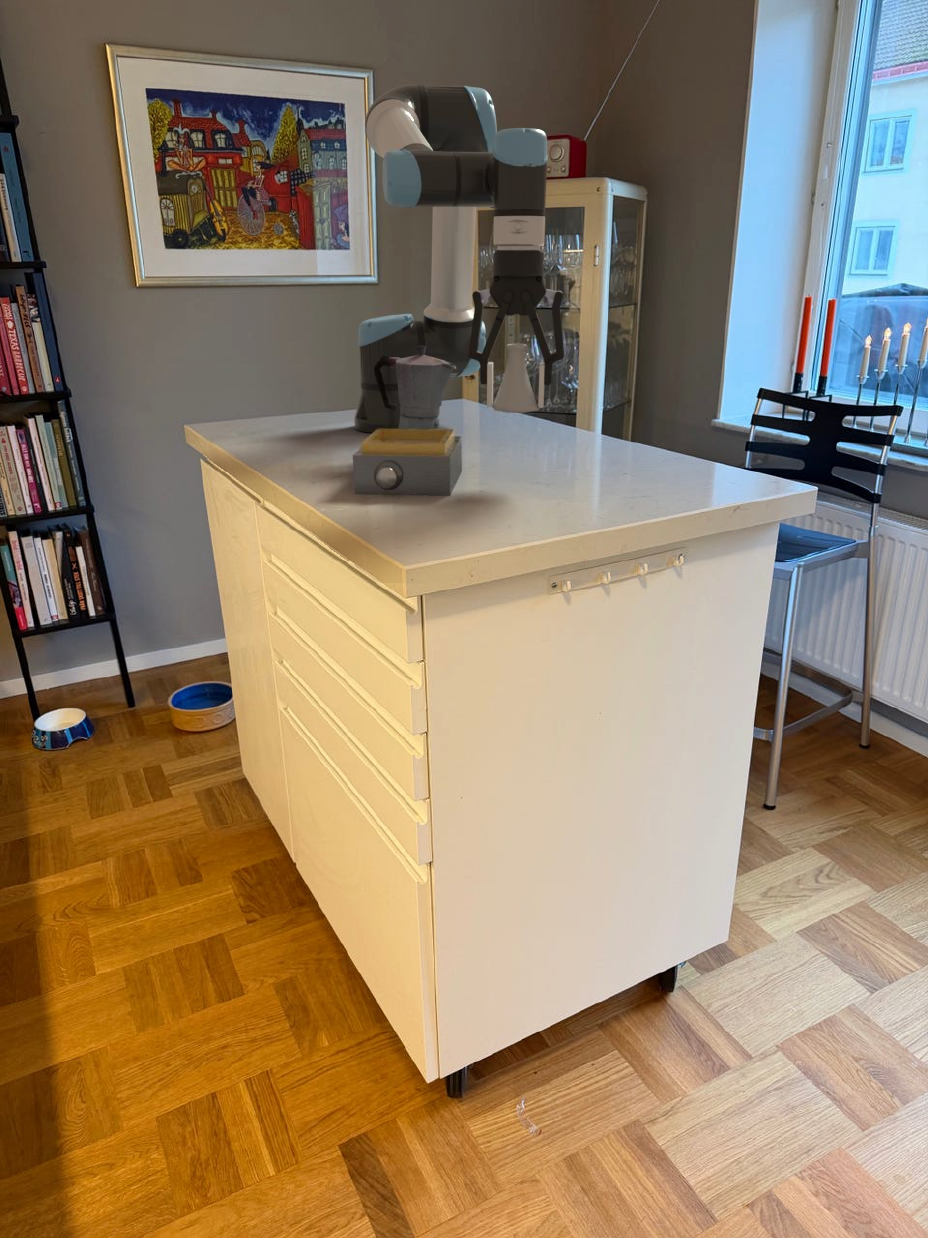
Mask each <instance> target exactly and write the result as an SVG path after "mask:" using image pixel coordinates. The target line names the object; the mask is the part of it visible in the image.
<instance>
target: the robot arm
mask: <svg viewBox="0 0 928 1238" xmlns="http://www.w3.org/2000/svg"><path fill="white" fill-rule="evenodd" d="M366 113H367V114H366V115H365V122H364V127H365V128H364V132H365V135H366V138H367V141H368V144H369V146H370V147H371V149H372V150H373V151H374V153H376V154H377V155H378V156H379V157H381V158H383V160H382V168H381V169H382V171H381V172H382V173H381V174H382V176H381V177H382V179H381V180H382V188H383V189H382V192H383V196H384V200H385V202H386V203H387V204H388V205H390V206H392V207H394V206H397V207H404V208H408V209H409V208H410V209H411V208H414V207H416V208H418V207H419V208H420V207H421V208H424V207H426V208H428V207H431V208H432V226H431V228H432V230H431V235H432V238H431V280H430V283H431V287H430V288H431V289H430V303H429V305H427V306H426V307H425V309H423V318H422V319H423V320H415V319H414V317H413V314H411V313H402V314H401V313H400V314H391V315H386V316H378V317H374V318H370V319H365V320H363V321H362V322H361V323H360V324H359V327H358V343H357V347H358V352H359V353H358V354H359V376H360V379H359V380H360V381H359V382H360V396H359V399H358V404H357V407H356V409H355V410H356V411H355V415H354V417H353V418H354V419H353V420H354V429H355V430H357V431H359V432H363V433H371V434H372V433H373V432H374V431H376V430H377V429H398V428H399V422H400V416H401V414H400V402H399V393H398V384H397V374H396V369H395V368H389V367H387V366H385V365H384V366H382V367H381V369H380V372H381V374H382V377H383V382H384V385H385V389H386V395H387V397H388V399H389V402H390V403H391V404H396V405H397V408H396V409H395V410H394V409H389V408H386V407H384V403H383V399H382V397H381V393H380V390H379V386H378V383H377V381H376V377H375V374H374V366H375V365H376V364H377V362H378V361H380V358H382V356H383V355H386V356H389V357H398V358H406V357H411V356H415V355H418V350H417V346H420V345H423V346H425V347H426V349H425V354H424V355H426V356H430V357H433V358H437V359H441V360H444V361H446V362H449V363H452V364H453V365H455V367H456V369H454V370H453V372H452V374H451V376H450V378H451V377H454V378H459V377H466V376H473V375H475V374H476V373H477V372H478V371H479V382H480V384H481V385H486V407H487V408H493V404H494V362H493V361H489V360H490V356H491V355H492V352H493V349H494V346H495V344H496V341H497V339H498V336H499V334H500V331H501V328H502V326H503V324H504V321H505V319H506V316H515V315H519V316H523V317H524V316H525V317H526V316H528V318H529V321H530V323H531V326H532V329H533V332H534V335H535V337H536V341H537V344H538V346H539V350H540V352H541V355H542V358H543V362H540V363H539V369H538V370H539V373H538V376H539V377H538V378H539V379H538V402H537V403H538V404H537V407H538V409H539V408H540V409H541V408H542V409H543V408H544V399H545V398H544V397H545V396H544V395H545V386H551V383H552V380H553V379H552V377H553V365H554V363H555V362H558V361H562V360H563V359H564V358H565V351H564V350H565V349H564V348H565V347H564V339H563V338H564V336H563V327H562V316H561V306H562V301H563V298H564V297H563V295H564V294H563V291H561V290H553V289H548V288H547V287H546V285H545V283H544V268H545V267H544V262H545V260H544V259H545V258H544V257H545V252H543V250H541V247H543V246H544V245H545V236H546V235H545V232H546V201H547V200H546V197H547V195H546V194H547V173H548V172H547V170H548V161H549V156H548V137H547V134H546V132H545V131H543V130H542V129H537V128H532V127H529V128H527V127H525V128H524V127H515V128H513V127H512V128H505V129H501V130H498V127H497V124H498V123H497V118H496V117H497V116H496V111H495V105H494V102H493V99H492V97H491V95H490V93H489V92H488V91H487V90H486V89H484V88H482V87H475V86H467V85H423V84H421V85H418V84H403V85H399V86H395V87H393V88H391V89H388V90H387V91H385V92H384V93H383V94H381V95H380V96H379V97H377V98H376V99H375V100H374V101H373V103H372V104H371V105H370V107H369V108H368V111H367V112H366ZM477 208H490V209H493V236H492V237H493V243H492V244H493V246H494V247H497V248H496V250H494V252H493V253H492V255H493V257H492V258H493V259H492V283H491V284H490V286H489V288H487V289H483V290H475V291H473V286H474V285H473V282H474V281H473V280H474V262H475V261H474V260H475V242H476V241H475V240H476V239H475V238H476V237H475V236H476V222H477V221H476V219H477V218H476V217H477ZM489 297H492V300H493V301H494V303H495V305H496V306H497V307H498V311H497V313H496V317H495V319H494V322H493V324H492V327H491V329H490V332H489V334H488V337H487V339H486V335H487V333H486V325H485V322H484V321H483V317H484V307H485V305H487V304H488V302H489V301H488V299H489ZM544 297H546V298H547V303H548V305H549V306H551V315H552V325H553V326H552V328H553V335H554V346H555V352H551V349H550V347H549V343H548V342H547V338H546V336H545V332H544V329H543V327H542V323H541V320H540V318H539V315H538V314H539V313H538V312H537V309H536V308H537V307H538V306H539V304H540V303H541V301H542V300H543V298H544ZM472 302H473V303H472Z"/></svg>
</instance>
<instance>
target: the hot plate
mask: <svg viewBox="0 0 928 1238" xmlns="http://www.w3.org/2000/svg"><path fill="white" fill-rule="evenodd" d="M462 439H463V437H462V435H460V436H459V435H458V436H457V435H456V436H455V429H449V428H447V429H446V428H445V429H444V428H443V429H441V428H440V429H377V430H376V431H374V432H373V433H371V434H369V436H367V437H366V438H365V439H364V440H363V441H362V442H361V447H360V448H359V449H358V450H357V451H355V452H354V453H353V454H352V469H353V482H354V483H353V485H354V486H353V487H354V494H355V495H356V494H357V495H361V494H363V495H401V496H402V495H404V496H406V495H407V496H409V495H411V496H412V495H413V496H415V495H416V496H451V495H452V493H453V491H454V488H455V486H456V484H457V482H458V480H459V478H460V476H461V474H462V471H463V460H462V457H463V456H462V454H463V452H462V451H463V450H462V445H463V442H462Z"/></svg>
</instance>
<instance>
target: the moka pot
mask: <svg viewBox="0 0 928 1238" xmlns="http://www.w3.org/2000/svg"><path fill="white" fill-rule="evenodd" d="M425 349H426V347H425V346H423V345H420V346H417V350H418V355H415V356H411V357H406V358H398V357H389V356H386V355H383V356H382V358H380V361H378V362H377V364H376V365H375V366H374V374H375V377H376V381H377V383H378V386H379V390H380V393H381V397H382V399H383V403H384V407H386V408H389V409H394V410H395V409H396V408H397V405H396V404H391V403H390V402H389V399H388V397H387V395H386V389H385V385H384V382H383V377H382V374H381V372H380V369H381V367H382V366H384V365H385V366H387V367H389V368H395V369H396V374H397V384H398V393H399V402H400V414H401V416H400V422H399V428H398V429H441V428H440V427H441V426H440V425H441V424H440V418H439V416H440V414H441V413H440V412H441V411H440V410H441V406H442V403H443V396H444V390H445V388H446V386H447V384H448V382H449V380H450V378H451V377H450V376H451V374H452V372H453V370H454V369H456V367H455V365H453V364H452V363H449V362H446V361H444V360H441V359H437V358H433V357H430V356H426V355H424V354H425Z"/></svg>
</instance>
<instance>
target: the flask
mask: <svg viewBox="0 0 928 1238" xmlns="http://www.w3.org/2000/svg"><path fill="white" fill-rule="evenodd" d="M505 345H506V349H507V360H506V366H505V371H504V374H503V377H502V380H501V382H500V386H499V388H498V392H497V394H496V397H495V399H494V400H493V405H492V409H493V410H494V411H497V412H501V413H510V414H512V413H514V414H517V413H518V414H523V413H530V412H537V411H539V408H538V404H537V403H538V402H537V401H536V398H535V394H534V392H533V388H532V386H531V382H530V378H529V375H528V371H527V370H528V369H527V364H526V350H527V349H528V345H527V344H525V343H509V344H508V343H507V344H505Z"/></svg>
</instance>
